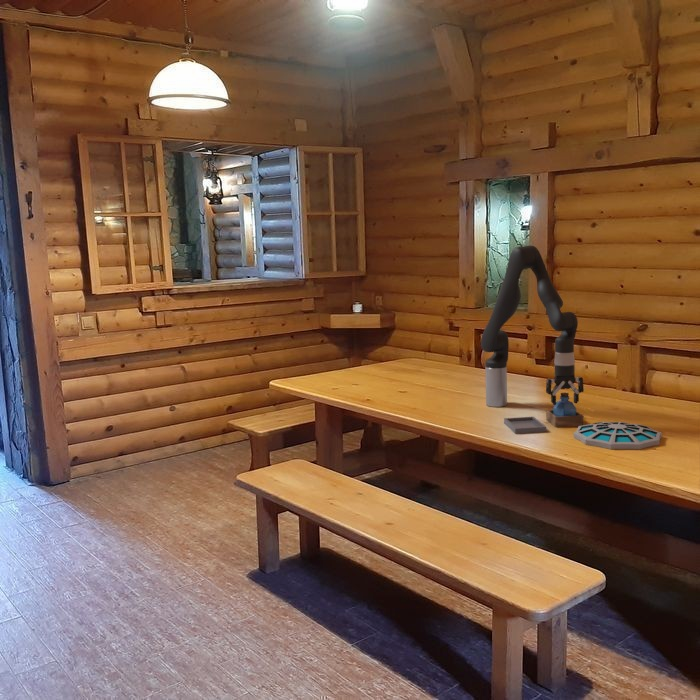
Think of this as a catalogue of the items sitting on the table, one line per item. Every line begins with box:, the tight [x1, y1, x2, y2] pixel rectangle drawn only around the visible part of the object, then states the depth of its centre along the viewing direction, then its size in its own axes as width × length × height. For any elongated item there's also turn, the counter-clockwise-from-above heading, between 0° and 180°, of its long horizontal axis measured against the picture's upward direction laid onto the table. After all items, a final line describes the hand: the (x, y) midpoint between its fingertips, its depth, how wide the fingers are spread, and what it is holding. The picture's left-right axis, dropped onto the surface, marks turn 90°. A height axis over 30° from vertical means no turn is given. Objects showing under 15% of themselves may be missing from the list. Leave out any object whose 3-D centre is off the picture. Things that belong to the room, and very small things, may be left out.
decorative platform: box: [573, 421, 663, 450], centre depth 265 cm, size 31×29×5 cm
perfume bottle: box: [552, 392, 577, 417], centre depth 287 cm, size 6×6×12 cm
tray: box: [503, 416, 547, 435], centre depth 284 cm, size 16×12×2 cm
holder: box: [545, 409, 585, 428], centre depth 288 cm, size 11×11×4 cm
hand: (564, 403), depth 287 cm, fingers open, 8 cm apart
